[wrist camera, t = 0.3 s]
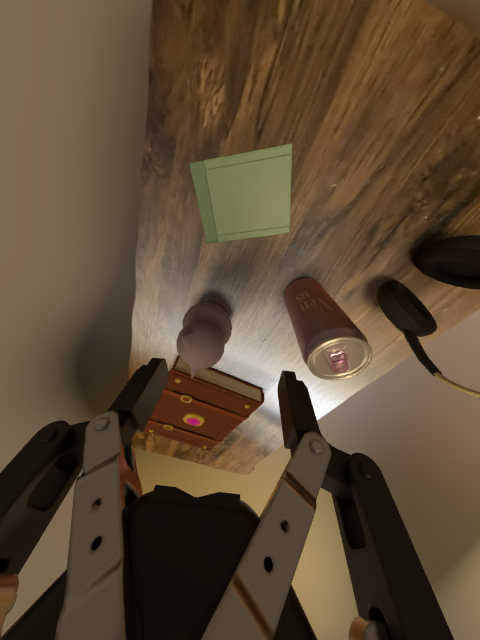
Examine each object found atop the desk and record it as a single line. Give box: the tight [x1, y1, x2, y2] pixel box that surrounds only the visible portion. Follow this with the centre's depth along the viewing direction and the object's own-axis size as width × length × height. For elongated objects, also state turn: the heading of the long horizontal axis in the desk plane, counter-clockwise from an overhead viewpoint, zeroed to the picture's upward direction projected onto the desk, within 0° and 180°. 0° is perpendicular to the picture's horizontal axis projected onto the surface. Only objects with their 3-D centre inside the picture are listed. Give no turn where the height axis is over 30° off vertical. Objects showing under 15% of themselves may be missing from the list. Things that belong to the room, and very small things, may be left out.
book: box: [144, 355, 264, 450], centre depth 46 cm, size 23×32×5 cm
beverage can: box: [284, 278, 372, 380], centre depth 22 cm, size 6×6×15 cm
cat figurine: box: [177, 297, 232, 379], centre depth 27 cm, size 8×8×12 cm
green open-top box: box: [190, 144, 292, 244], centre depth 19 cm, size 8×6×9 cm
